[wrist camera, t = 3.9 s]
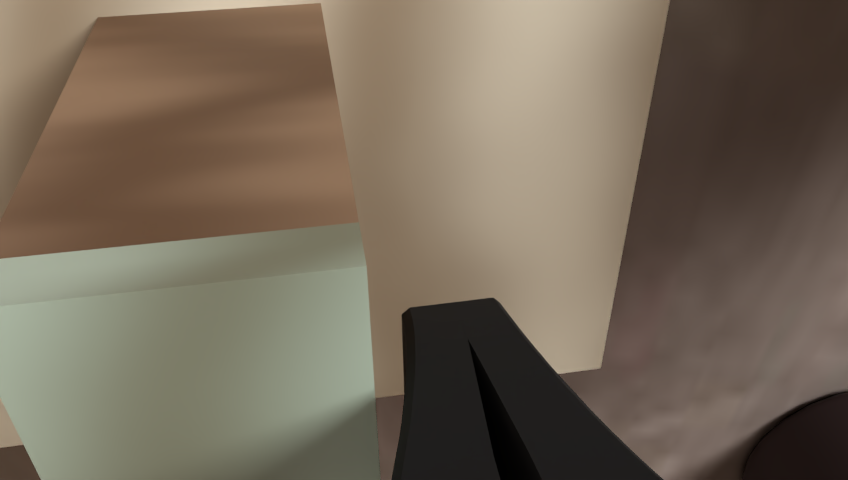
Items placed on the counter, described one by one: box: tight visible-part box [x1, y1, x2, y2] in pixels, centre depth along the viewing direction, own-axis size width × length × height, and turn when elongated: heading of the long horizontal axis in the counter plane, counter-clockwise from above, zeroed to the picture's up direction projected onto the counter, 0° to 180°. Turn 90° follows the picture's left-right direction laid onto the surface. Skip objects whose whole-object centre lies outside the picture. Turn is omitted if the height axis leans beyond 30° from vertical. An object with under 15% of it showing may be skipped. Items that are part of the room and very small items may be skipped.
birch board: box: [0, 0, 670, 448], centre depth 16 cm, size 24×16×1 cm, turn 91°
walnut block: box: [0, 3, 381, 480], centre depth 13 cm, size 4×6×8 cm, turn 1°
